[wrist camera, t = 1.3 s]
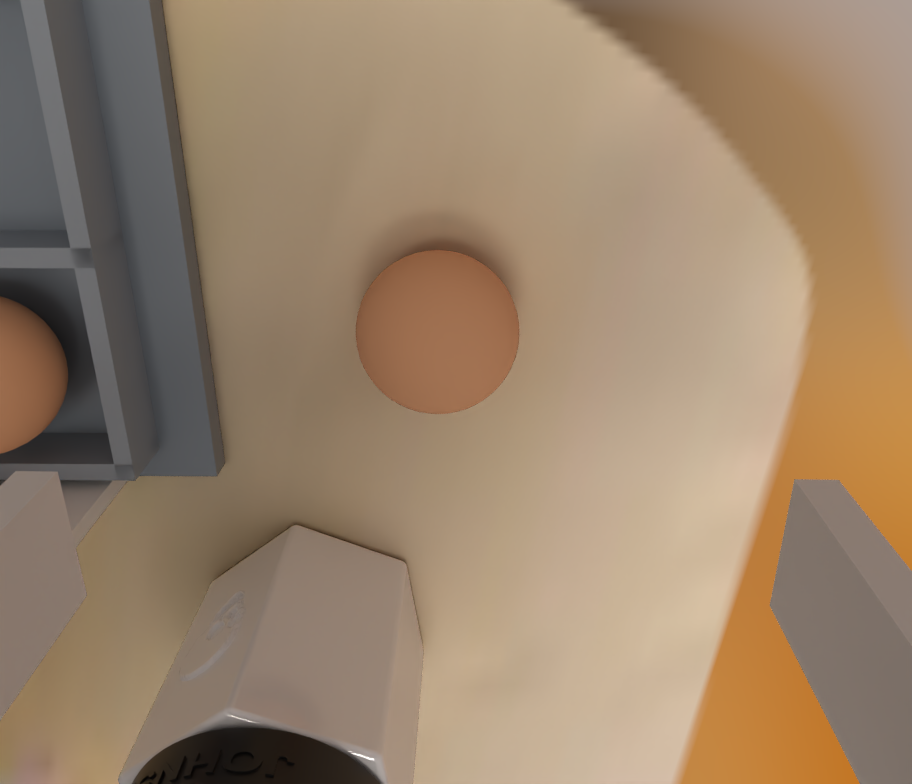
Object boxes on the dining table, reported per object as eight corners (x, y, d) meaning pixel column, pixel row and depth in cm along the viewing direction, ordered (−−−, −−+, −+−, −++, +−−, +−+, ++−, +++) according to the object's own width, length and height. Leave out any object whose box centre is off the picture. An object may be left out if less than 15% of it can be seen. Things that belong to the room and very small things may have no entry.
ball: (369, 375, 28) (349, 441, 23) (362, 233, 26) (338, 275, 21) (513, 376, 28) (521, 443, 23) (517, 233, 26) (526, 276, 21)
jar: (335, 486, 30) (256, 748, 19) (469, 625, 32) (467, 927, 21) (169, 603, 32) (12, 895, 21) (305, 724, 35) (228, 1041, 24)
